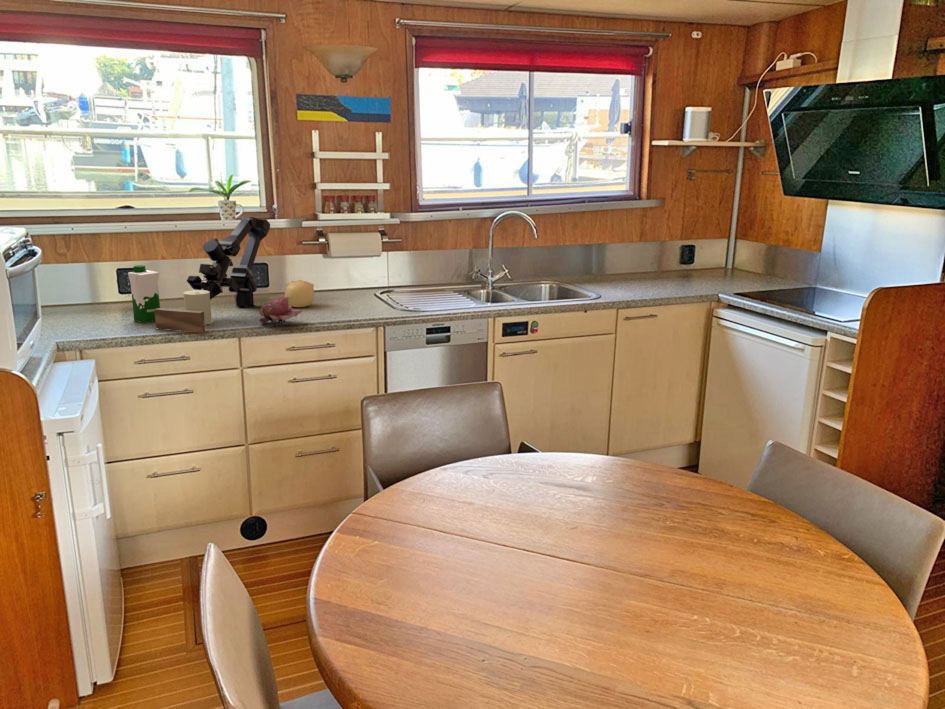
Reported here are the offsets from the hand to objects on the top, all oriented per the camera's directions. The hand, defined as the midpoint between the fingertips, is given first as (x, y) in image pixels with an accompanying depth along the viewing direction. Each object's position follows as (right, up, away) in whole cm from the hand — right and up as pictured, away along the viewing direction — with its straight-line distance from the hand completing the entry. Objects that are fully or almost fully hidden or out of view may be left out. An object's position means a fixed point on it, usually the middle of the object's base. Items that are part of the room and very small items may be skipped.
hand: (204, 302), depth 283 cm
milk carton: (-21, -7, +1) cm, 22 cm away
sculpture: (+29, 0, +30) cm, 41 cm away
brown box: (-4, -11, -13) cm, 17 cm away
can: (-1, -8, -3) cm, 8 cm away
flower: (+29, -8, -2) cm, 30 cm away
